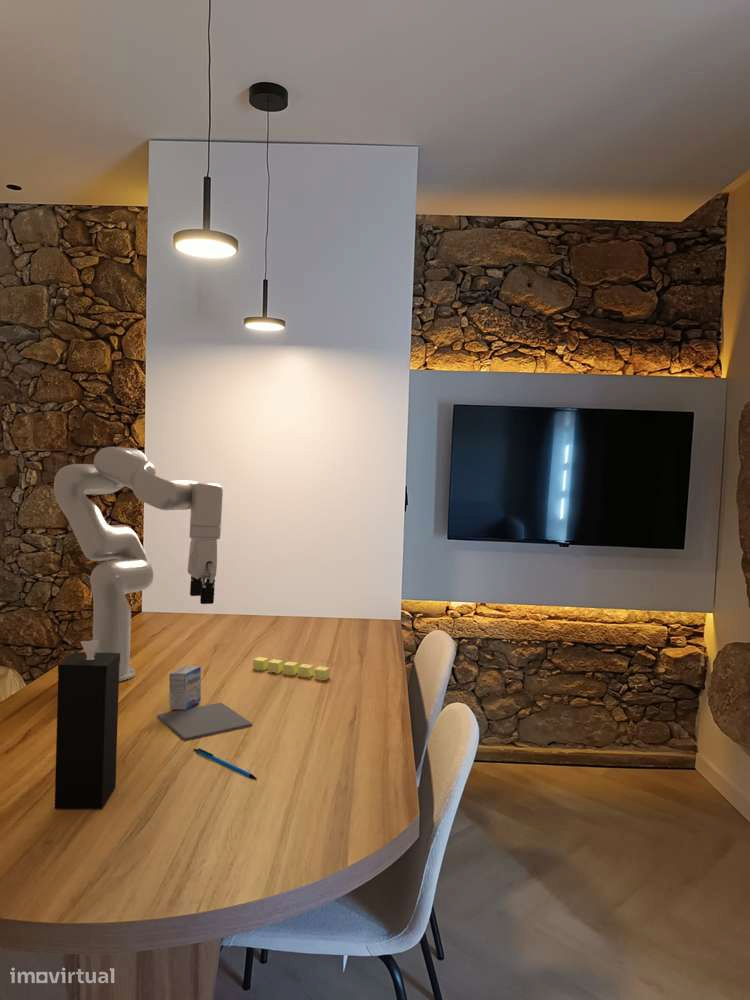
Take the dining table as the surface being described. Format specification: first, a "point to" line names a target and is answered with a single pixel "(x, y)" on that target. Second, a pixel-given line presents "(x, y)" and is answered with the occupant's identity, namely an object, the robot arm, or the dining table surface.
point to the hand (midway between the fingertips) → (201, 599)
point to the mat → (203, 720)
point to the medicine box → (185, 687)
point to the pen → (224, 763)
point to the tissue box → (86, 728)
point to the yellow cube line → (291, 668)
